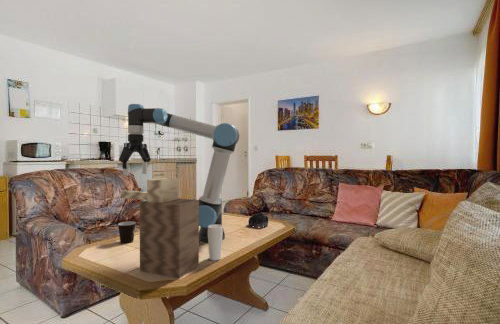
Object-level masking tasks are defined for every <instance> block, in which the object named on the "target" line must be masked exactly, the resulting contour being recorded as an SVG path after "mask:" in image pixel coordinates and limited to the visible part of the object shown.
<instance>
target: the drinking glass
mask: <svg viewBox="0 0 500 324" xmlns="http://www.w3.org/2000/svg"><path fill="white" fill-rule="evenodd" d="M223 230H224V228H223V224H222V225H218V224H214V225H209V226H208V242H207V243H208V245H207V246H208V257H209V260H210V261H213V262H214V261H219V260H221V258H222V248H223V247H222V244H223V240H222V237H223Z"/></svg>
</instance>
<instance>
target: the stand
mask: <svg viewBox="0 0 500 324" xmlns="http://www.w3.org/2000/svg"><path fill="white" fill-rule="evenodd" d="M199 230H200V226H199V199H190V198H189V199H188V198H178V199H176V200H172V201H168V202H164V203H154V202H147V200H142V201H139V272H144V273H149V274H154V275H160V276H164V277H165V276H166V277H170V278H176V279H181V278H182V277H184V276H185V275H187V274H188V273H189V272H191V271H192V270H194V269H195V268H197V267H199V263H200V260H199V259H200V257H199V255H200V253H199V251H200V249H199V248H200V247H199V245H200V244H199V243H200V240H199Z"/></svg>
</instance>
